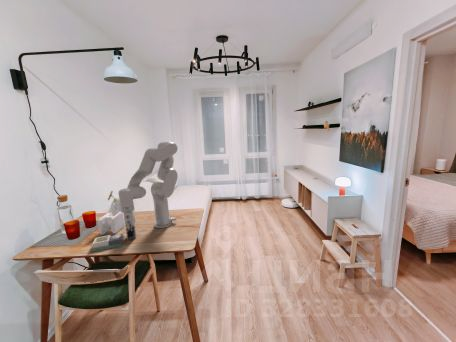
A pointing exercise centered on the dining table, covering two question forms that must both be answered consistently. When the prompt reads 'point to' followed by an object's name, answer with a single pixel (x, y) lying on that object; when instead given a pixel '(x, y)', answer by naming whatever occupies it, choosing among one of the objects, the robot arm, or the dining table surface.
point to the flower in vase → (115, 204)
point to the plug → (133, 233)
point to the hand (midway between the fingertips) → (131, 233)
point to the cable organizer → (111, 223)
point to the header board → (107, 242)
